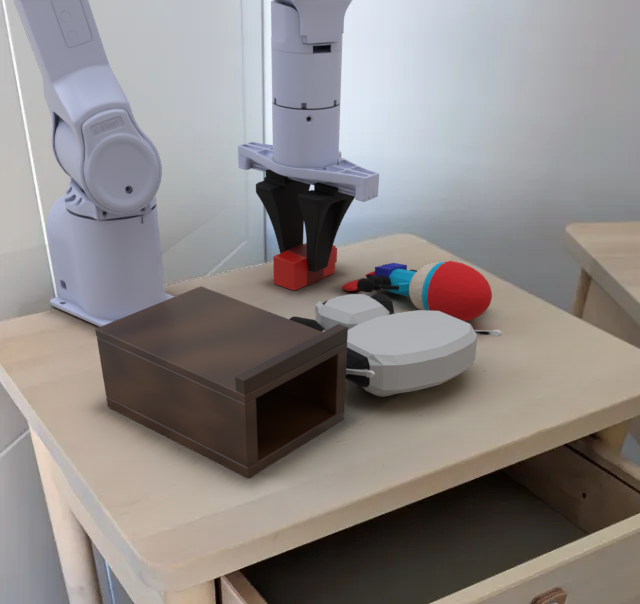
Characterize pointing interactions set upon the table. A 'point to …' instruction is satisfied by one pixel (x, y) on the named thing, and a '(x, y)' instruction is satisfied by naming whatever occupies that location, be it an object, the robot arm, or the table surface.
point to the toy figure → (432, 287)
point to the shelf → (225, 377)
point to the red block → (299, 268)
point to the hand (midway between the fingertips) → (304, 264)
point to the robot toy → (397, 343)
